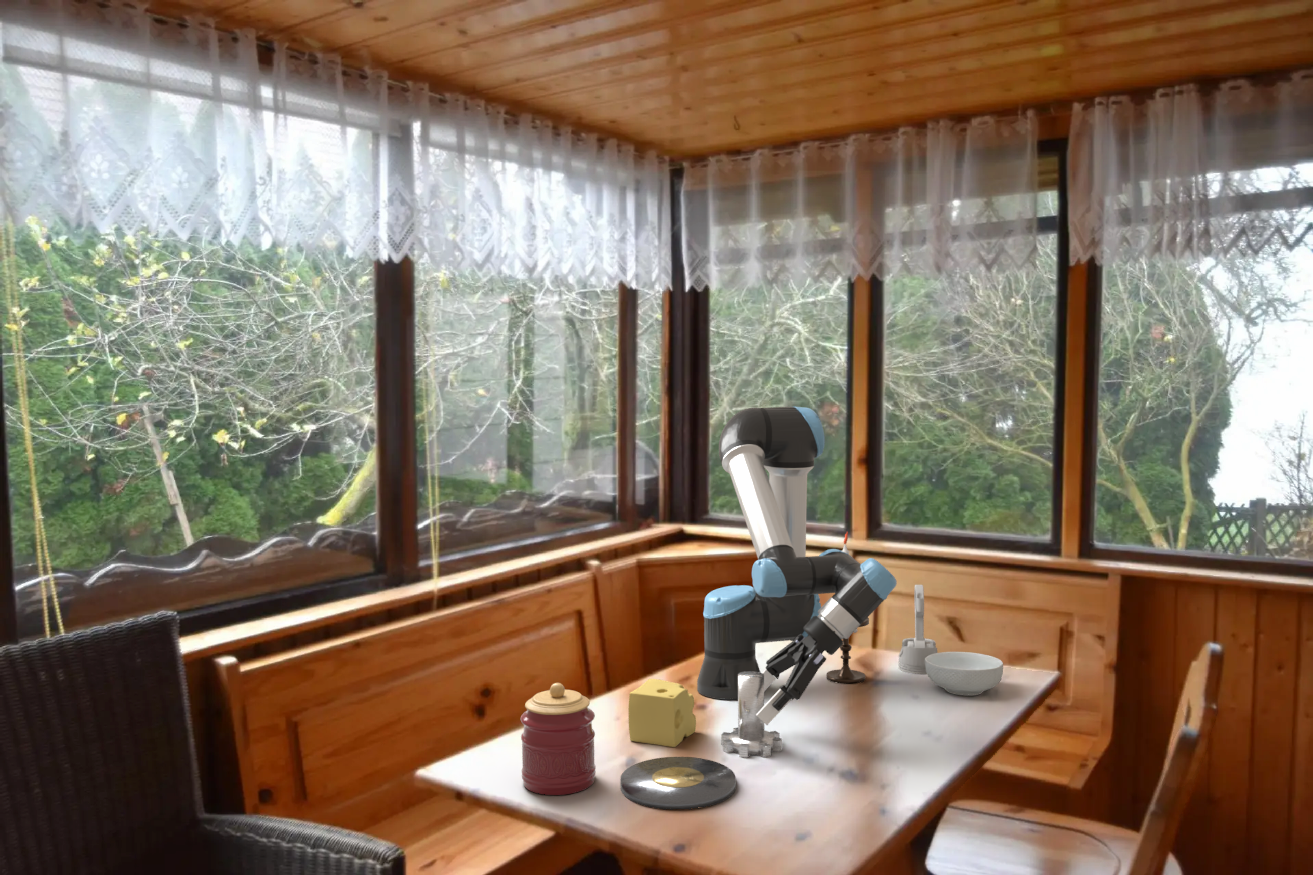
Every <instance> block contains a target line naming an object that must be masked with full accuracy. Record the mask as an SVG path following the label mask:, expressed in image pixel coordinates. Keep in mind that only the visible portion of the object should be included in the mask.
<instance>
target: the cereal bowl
mask: <svg viewBox="0 0 1313 875" xmlns="http://www.w3.org/2000/svg"><path fill="white" fill-rule="evenodd" d="M925 668H926V673H927V674H926V675H927V676H928V678H929V680H930V681H931V682H932V683H933V684H935V685H936V686H938V687H941V689H942V688H943V689H945V691H947V692H948V693H950V694H953V695H957V696H958V695H959V696H977V695H980V694H982V693H983V692H984V691H989V690H990V689H992V688H995V687H996V686H997V685H999V683H1000V681H1001V680H1002V678H1003V674H1004V663H1003V661H1002V660H1001V659H1000V658H997V657H995V656H992V655H988V654H983V653H978V652H977V653H976V652H969V651H943V652H938V653H935V654H931V655H929V656H927V657H926V658H925Z"/></svg>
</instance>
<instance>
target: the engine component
mask: <svg viewBox="0 0 1313 875" xmlns="http://www.w3.org/2000/svg"><path fill="white" fill-rule="evenodd" d="M913 590H914V593H913V594H914V595H913V596H914V598H913V599H914V602H913V603H914V633H915V634H914V637H909V638H908V637H907V638H903V640H902V642H901V643H902V644H901V649H900V651H899V654H898V669H899V671H902V672H903V673H907V674H911V673H912V674H911V675H913V674H914V675H927V673H926V668H925V658H926V657H927V656H929V655H931V654H935V653H939V652H938V647H936V644H937V643H936V641H935V640H934V639H932V638H931V639H930V638H926V637H925V634H924V632H925V630H924V629H925V628H924V626H925V625H924V617H925V591H924V590H925V588H924V585H923V584H914V589H913Z"/></svg>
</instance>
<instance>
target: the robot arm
mask: <svg viewBox="0 0 1313 875" xmlns="http://www.w3.org/2000/svg"><path fill="white" fill-rule="evenodd" d="M824 431H825V430H824V427H823V424H822V421H821V419H820V417H819V415H818V414H817V412H815V410H814V409H811V408H810V407H803V406H802V407H801V406H778V407H777V406H775V407H774V406H773V407H747V408H744V409H742V410H740V411H738V412H736V413H735V414H734V415H733V416H731V417H730V419H728V421H727V422H726V423H725V425H724V427H723V429H722V431H721V434H720V437H719V442H718V455H719V460H720V462H721V466H722V468H723V470H724V471H725V472H726V473H728V474H729V475H730V478H731V482H732V484H733V488H734V490H735V494H736V497H737V500H738V503H739V506H740V508H741V512H742V514H743V518H744V522H745V524H746V527H747V530H748V532H749V535H750V538H751V542H752V545H753V548H754V550H755V554H756V557H757V560H755V561H754V563H753V565H752V568H751V578H752V586H751V585H745V584H743V585H737V584H736V585H728V586H723V587H720V588H716V589H714V590H711V591H710V592H709V593H707V595H706V596H705V597H704V603H703V605H704V607H703V612H702V614H703V621H704V622H703V626H704V627H703V628H704V629H703V630H704V632H703V636H704V637H703V638H704V641H703V642H704V658H703V660H702V665H701V667H700V670H699V674H698V677H697V681H696V682H697V683H696V685H697V692H698V693H699V694H700V695H702V696H705V697H707V698H711V699H717V700H732V701H733V700H738V674H739V673H741V672H746V671H754V672H760V673H763V674H764V692H766V690H767V689H768V688H769V687H770V686H771V685H772V684H773V683H774V682H775V680H779V678H780V674H782V673H784V672H786V671H787V670H789V669H791V668H792V667H793V669H792V670H791V672H790V674H789V676H788V679H787V681H786V682H785V685H784V684H783V685H780V686H779V689H778V690H777V691H776V692H775V694H774V695H772V697H770V699H769V700H768V701H767V702H766V703H764V706H763V707H762V708H761V710H760V711H759V712H758V713H757V714H756V715H757V716H758V717H759V718H760V719H761V720H762V721H763V722H764V725H766V726H768V725H769V724H770V723H771V722H772V721H773V720H774V718H776V717H777V715H779V713H780V712H782V710H783V709H784V708H785V707H786V706H787V705H788V704H789V703H790V702H791V701H793V700H794V699H795V700H796V701H798V700H800V699H801V697H802V695H803V694H804V692H805V691H806V689H807V688H808V686H809V685H810V683H811V681H812V680H813V678H814V677H815V675H816V674H817V672H818V671H819V669H820V668H821V666H823V665H824V663H825V662H826V661H827V657H826V656H824V655H823V653H824V652H826V653H827V654H828V655H830V656H832V655H833V656H834V655H835V653H836V652H837V651H838V650H839V649H840V646H841V645H842V644H843V638H845V639H848V637H849V638H850V636H852V634H855V633H857V632H858V631H859V630H858V628H860V627H859V626H860V624H862V622H864V621H865V620H866V619H867V617H868V618H869V617H870V616H871V614H873V612H874V611H875V610H876V609H877V608H878V607H879V606H880V605H881V604H882V603H883V602H884V601H885V600H887V599H888V596H889V595H890V593H891V592H892V591H893V590H894V589H895V588H896V586H897V579H896V577H895V576H894V575H893V573H891V572H890V571H889V570H888V569H887V568H886V567H885V566H884V565H883V564H881V563H880V562H879V561H878V560H877V559H875V558H873V557H872V558H871V557H870V558H867V559H866V560H865V561H863V562H862V563H860V562H859V561H857V559H855V558H854V557H853V556H852V555H850V554H849V555H848V554H847V553H844V552H842V550H841V549H838V548H837V549H836V548H829V549H828V548H827V550H824V551H823V552H821V553H820V554H819V555H817V556H816V555H815V556H806V554H807V552H806V551H807V550H806V548H807V546H806V544H807V504H808V503H807V501H808V499H807V497H808V496H807V495H808V474H809V473H810V471H811V470H813V468H815V459H818V458H819V457H820V456H821V457H822V455H823V452H824V450H825V444H826V443H825V438H826V437H825V432H824ZM767 472H768V473H769V475H768V474H767ZM822 594H833V595H832V596H831V597H829V598H828V600H827V601H826V602H824V604H823V605H822V604H821V602H820V601H821V598H820V595H822ZM787 641H788V642H789V641H790V642H789V643H788V644H786V645H785V646H784V647H783V648H782V649H780V650H779V651H778V652H776V653H775V654H774V655H772V656H771V657H770V658H769V659H767V660H766V663H765V664H766V666H765V669H764V670H763V671H762V672H761V670H760V669H761V668H760V666H759V664H758V660H757V657H756V644H763V643H765V644H766V643H773V642H774V643H775V642H787Z"/></svg>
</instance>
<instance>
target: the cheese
mask: <svg viewBox="0 0 1313 875" xmlns="http://www.w3.org/2000/svg"><path fill="white" fill-rule="evenodd" d="M627 708H628V732H629V739H630V742H635V743H642V744H649V745H656V746H657V745H658V746H664V747H669V748H676V747H678V745H679V744H681V743H682V742H683V739H684V738H688V737H690V736H691V735H693V734H694V733H695V732H696V728H697V718H696V717H697V716H696V715H695V714H694V711H693V710H694V708H695V698H694V695H693V694H692V693H689V690H688V689H687V688H685V687H684V686H683V684H680V683H677V682H672V681H669V680H668V681H667V680H664V679H658V678H649V679H647V680H646V681H645V682H644V683H643V684H641V685H640V686H639V687H637V688H636V689H634V690H632V691H631V692H629V697H628V707H627Z"/></svg>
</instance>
